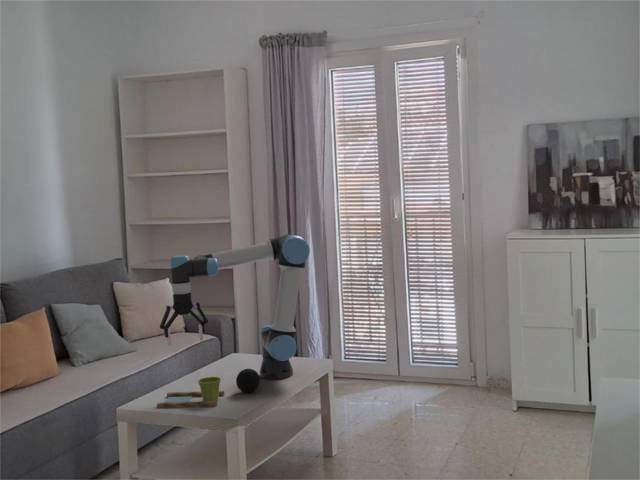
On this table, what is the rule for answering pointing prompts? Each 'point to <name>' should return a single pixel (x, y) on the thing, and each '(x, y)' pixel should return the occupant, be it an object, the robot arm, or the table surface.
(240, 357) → the table surface
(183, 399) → the marked pad
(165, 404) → the pair of walnut rails
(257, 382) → the speaker
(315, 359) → the table surface
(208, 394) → the plant pot
